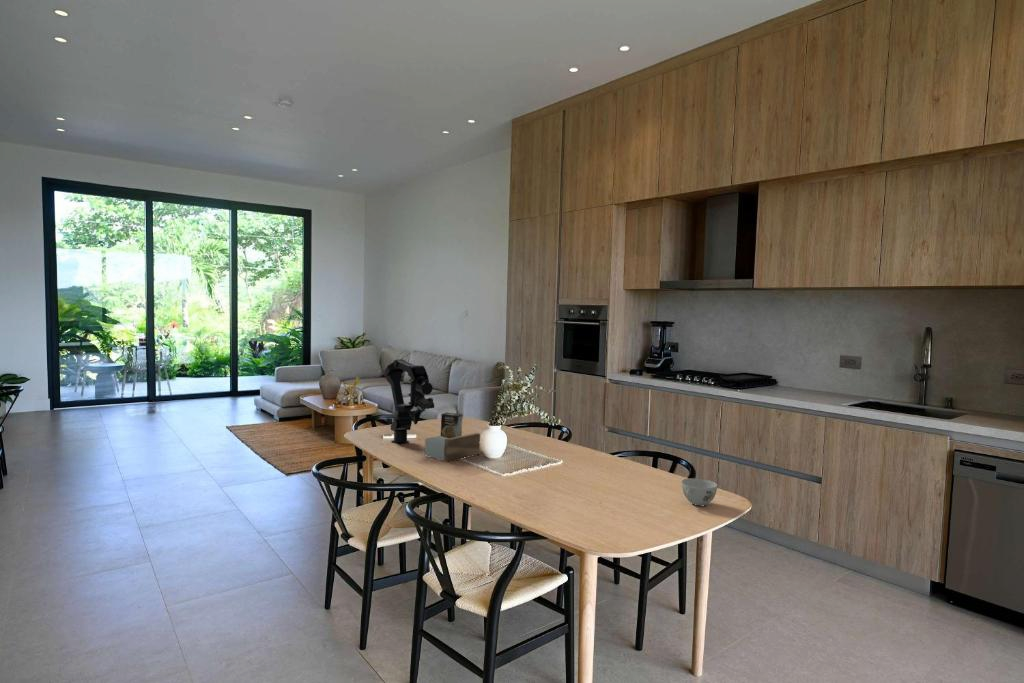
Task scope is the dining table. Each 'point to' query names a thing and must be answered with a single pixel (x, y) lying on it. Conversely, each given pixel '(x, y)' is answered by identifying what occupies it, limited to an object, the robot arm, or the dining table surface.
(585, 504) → the dining table surface
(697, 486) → the teacup
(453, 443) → the walnut board
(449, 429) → the coffee box
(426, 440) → the grey block
